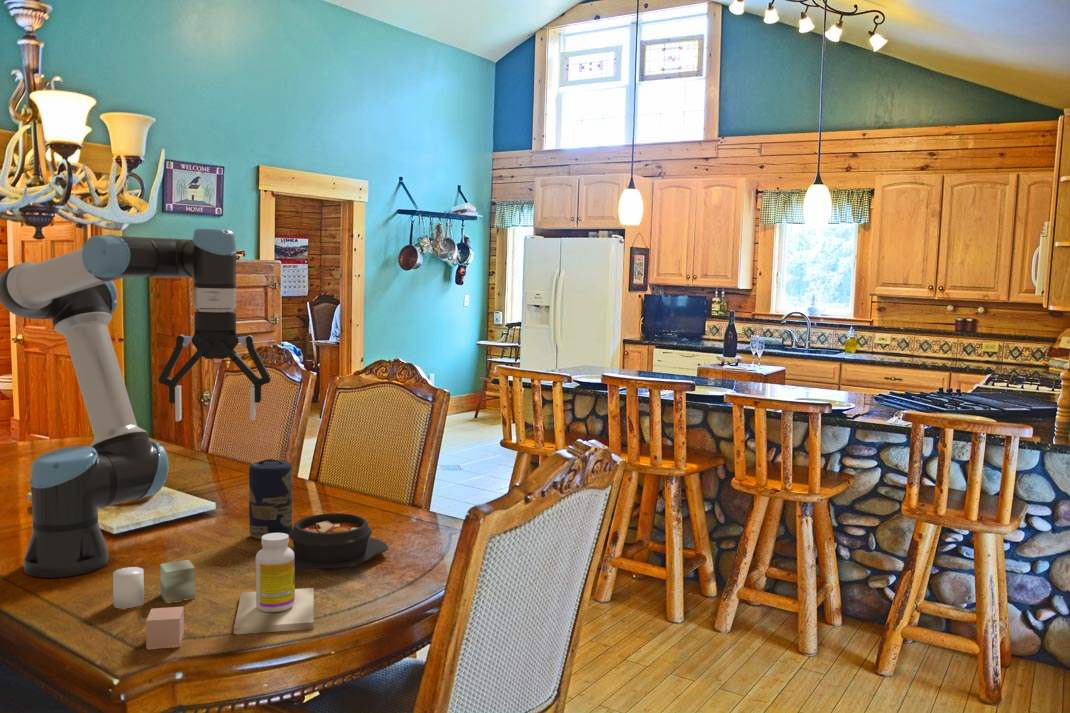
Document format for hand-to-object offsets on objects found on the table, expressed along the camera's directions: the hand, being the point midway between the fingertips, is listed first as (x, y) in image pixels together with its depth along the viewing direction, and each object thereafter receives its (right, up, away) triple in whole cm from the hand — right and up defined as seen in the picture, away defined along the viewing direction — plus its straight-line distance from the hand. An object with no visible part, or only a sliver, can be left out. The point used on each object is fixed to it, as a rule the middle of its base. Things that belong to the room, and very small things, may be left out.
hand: (216, 419), depth 167 cm
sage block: (-5, -33, -7) cm, 34 cm away
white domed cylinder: (-12, -33, -11) cm, 36 cm away
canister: (+2, -29, +30) cm, 42 cm away
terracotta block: (+1, -35, -26) cm, 43 cm away
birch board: (+16, -34, -13) cm, 39 cm away
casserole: (+19, -31, +15) cm, 39 cm away
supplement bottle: (+16, -33, -13) cm, 38 cm away
